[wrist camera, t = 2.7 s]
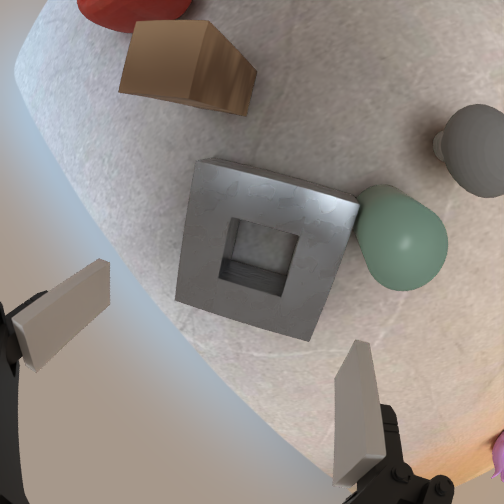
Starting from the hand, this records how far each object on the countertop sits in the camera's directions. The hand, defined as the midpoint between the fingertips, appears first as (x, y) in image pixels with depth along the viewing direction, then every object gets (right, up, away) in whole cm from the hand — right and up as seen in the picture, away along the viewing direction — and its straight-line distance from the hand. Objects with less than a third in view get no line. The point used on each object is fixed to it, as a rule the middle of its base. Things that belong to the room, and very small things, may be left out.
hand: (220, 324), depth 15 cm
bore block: (+3, +4, +12) cm, 13 cm away
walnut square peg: (0, +17, +8) cm, 19 cm away
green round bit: (+12, +6, +9) cm, 17 cm away
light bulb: (+17, +12, +6) cm, 22 cm away
